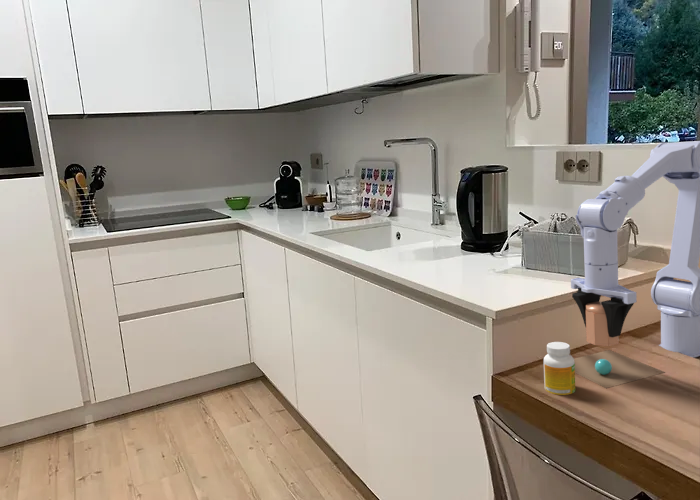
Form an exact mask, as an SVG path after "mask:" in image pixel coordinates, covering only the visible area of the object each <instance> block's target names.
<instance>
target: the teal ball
mask: <svg viewBox="0 0 700 500" xmlns="http://www.w3.org/2000/svg"><path fill="white" fill-rule="evenodd" d="M595 369H596V371H597V372H598V373H599V374H602V375H606V374H609V373H610V372H611V370H612V365H611V363H610V362H609V361H608V360H606V359H600V360H598V361H597V362H596V363H595Z"/></svg>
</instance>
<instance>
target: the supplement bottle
mask: <svg viewBox="0 0 700 500" xmlns="http://www.w3.org/2000/svg"><path fill="white" fill-rule="evenodd" d="M546 353H547V354H546V355H545V356H544V357H543V381H544V383H543V384H544V390H545V391H546V392H548V393H549V394H552V395H558V396H566V395H572V394H574V393H575V392H576V373H575V362H574V357H573V355H571V346H570V344H568V343H566V342H565V341H564V342H562V341H553V342H548V343H547V344H546Z"/></svg>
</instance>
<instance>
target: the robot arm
mask: <svg viewBox="0 0 700 500" xmlns="http://www.w3.org/2000/svg"><path fill="white" fill-rule="evenodd" d="M661 178H664V179H665V180H666V181H668V182H669V183H670V184H673V185H674V186H675V187H676V188H677V190H678V194H677V201H676V208H675V209H676V210H675V217H674V224H673V232H672V239H671V245H670V246H671V247H670V252H669V253H670V254H669V261H668V264H667V265H665V266H663V267H661V269H659V270H658V271H657V272H656V274H655V275H656V276H655V280H654V282H653V284H652V286H651V289H650V297H651V299H652V302H653V303H654V304H655V305H656V306H657V310H658V311H660V344H658V346H659V347H661V348H662V349H665V350H667V351H669V352H673V353H679V354H681V355H684V356H685V355H686V356H688V357H690V358H693V359H694V358H699V357H700V267H699V264H700V140H694V141H693V140H690V141H680V142H679V141H678V142H661V143H658V144H657V145H656V146H655V147H654V148H651V150H650V152H649V157H648V158H647V160H645V161H644V162H643V164H642V165H640V167H639V168H637V169H636V171H635V172H633V174H631V175H621V176H619V175H618V176H617V177H616V178H614V182H613V183H612V184H610V185H609V186H608V187H606V189H604V190H601V191H600V192H599V193H598V195H597V196H596V197H595V198H588V199H585V200H584V201H583V202H581V204H579V207H578V208H577V212H576V215H575V217H574V218H575V222H576V223H577V226H579V227H578V228H579V230H580V236H581V237H582V239H583V255H584V256H583V258H584V259H583V260H584V262H583V263H584V278H582V277H575V278H571V279H570V288H571V290H572V289H573V290H577V291H576V292H573V293H572V298H573V300H574V302H575V303H576V305H577V306H578V309H579V312H580V313H581V318H582V320H583V324H584V326H585V328H586V304H588V303H591V302H601V304H602V306H603V308H604V311H605V314H606V318H607V328H608V334H609V337H616V336H618V337H620V336H621V334H622V330H623V327H624V323H625V320H626V318H627V316H628V313H629V312H630V310H631V309H632V307H633V306H634V304H635V303H637V298H638V296H637V291H634V290H632V289H629V288H627V287H625V286H623V285H621V284H619V254H618V253H619V252H618V250H619V249H618V247H619V246H618V230H619V229H621V228H622V226H623V224H624V222H625V219H626V216H627V215H628V213H629V211H630V210H631V209H632V208H634V207H635V206H636V205H638V203H640V201H642V200H643V199H644V198H645V195H646V189H648V187H650V186H651V185H653V184H654V183H655V182H657V181H658V180H660V179H661ZM601 296H603V297H605V298H606V297H607V298H609V299H608V300H602V301H601Z"/></svg>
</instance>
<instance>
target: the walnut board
mask: <svg viewBox="0 0 700 500" xmlns="http://www.w3.org/2000/svg"><path fill="white" fill-rule="evenodd" d="M573 358H574V357H573ZM600 359H606V360H608V361H609V362H610V363H611V365H612V370H611V372H610V373H609V374H606V375H602V374H599V373H598V372H597V371H596V369H595V363H596V362H597V361H598V360H600ZM574 362H575V375H579V376H580V377H582V378H584V379H586V380H587V381H588V380H589V381H590V382H593V383H595V384H597V385H599V386H600V387H603V388H604V389H609V388H613V387H617V386H620V385H624V384H627V383H631V382H635V381H638V380H642V379H646V378H650V377H653V376H657V375H661V374H665V373H666V371H664V370H661V369H658V368H656V367H654V366H651V365H649V364H646V363H643V362H641V361H638V360H636V359H634V358H631V357H628V356H626V355H624V354H621V353H618V352H616V351H614V350H611V349H608V350H604V351H599V352H595V353H590V354H587V355H583V356H579V357H576V358H574Z"/></svg>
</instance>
